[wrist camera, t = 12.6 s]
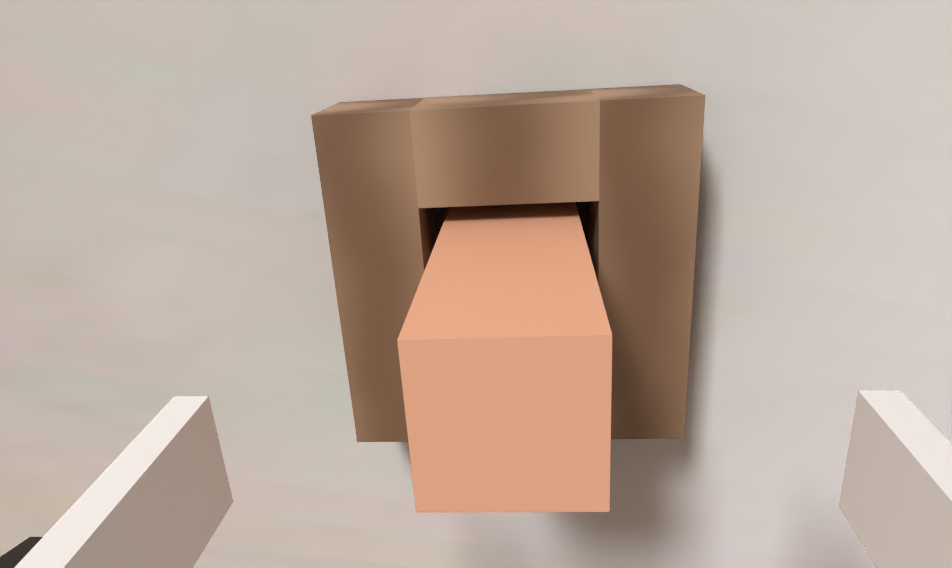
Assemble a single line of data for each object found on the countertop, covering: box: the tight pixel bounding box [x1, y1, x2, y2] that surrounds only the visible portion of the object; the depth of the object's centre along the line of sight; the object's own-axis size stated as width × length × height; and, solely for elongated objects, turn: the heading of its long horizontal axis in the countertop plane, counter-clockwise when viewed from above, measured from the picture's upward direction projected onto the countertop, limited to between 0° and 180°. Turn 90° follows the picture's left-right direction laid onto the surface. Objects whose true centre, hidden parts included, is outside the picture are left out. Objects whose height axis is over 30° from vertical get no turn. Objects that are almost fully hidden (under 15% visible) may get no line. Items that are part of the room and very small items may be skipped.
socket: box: [311, 84, 705, 442], centre depth 25 cm, size 12×12×4 cm
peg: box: [397, 202, 612, 512], centre depth 21 cm, size 4×4×12 cm
